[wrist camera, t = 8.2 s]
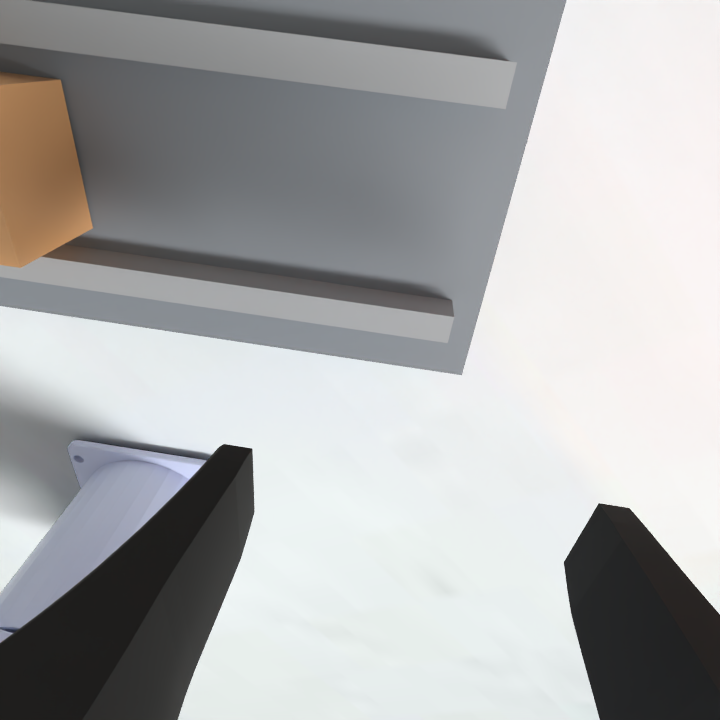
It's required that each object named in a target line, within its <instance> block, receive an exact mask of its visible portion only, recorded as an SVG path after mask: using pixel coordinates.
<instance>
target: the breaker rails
mask: <svg viewBox="0 0 720 720" xmlns="http://www.w3.org/2000/svg"><path fill="white" fill-rule="evenodd" d="M565 3H566V0H0V72H7V73H15V74H22V75H30V76H37V77H45V78H52V79H60V80H61V83H62V88H63V92H64V97H65V102H66V106H67V111H68V116H69V120H70V125H71V129H72V134H73V139H74V143H75V148H76V152H77V157H78V162H79V166H80V171H81V175H82V180H83V185H84V189H85V194H86V198H87V203H88V208H89V212H90V217H91V221H92V226H93V228H92V229H91V230H89V231H87V232H85V233H83V234H82V235H80V236H78V237H76V238H74V239H72V240H71V241H69V242H67V243H65V244H63V245H62V246H60V247H58V248H56V249H54V250H52V251H51V252H49V253H47V254H45V255H43V256H41V257H40V258H38V259H36V260H34V261H32V262H31V263H29V264H27V265H25V266H23V267H21V268H18V267H11V266H4V265H0V306H5V307H12V308H18V309H25V310H32V311H38V312H45V313H52V314H58V315H65V316H72V317H78V318H85V319H92V320H98V321H105V322H112V323H118V324H125V325H132V326H138V327H145V328H152V329H158V330H165V331H172V332H178V333H185V334H192V335H198V336H205V337H212V338H218V339H225V340H232V341H238V342H245V343H252V344H258V345H265V346H272V347H278V348H285V349H292V350H298V351H305V352H312V353H318V354H325V355H332V356H338V357H345V358H352V359H358V360H365V361H372V362H378V363H385V364H392V365H398V366H405V367H412V368H418V369H425V370H432V371H438V372H445V373H452V374H458V375H462V372H463V368H464V365H465V361H466V358H467V354H468V350H469V347H470V343H471V340H472V336H473V333H474V329H475V325H476V322H477V318H478V315H479V311H480V307H481V304H482V300H483V297H484V293H485V290H486V286H487V282H488V279H489V275H490V272H491V268H492V264H493V261H494V257H495V254H496V250H497V247H498V243H499V239H500V236H501V232H502V229H503V225H504V222H505V218H506V214H507V211H508V207H509V204H510V200H511V196H512V193H513V189H514V186H515V182H516V179H517V175H518V171H519V168H520V164H521V161H522V157H523V154H524V150H525V146H526V143H527V139H528V136H529V132H530V128H531V125H532V121H533V118H534V114H535V111H536V107H537V103H538V100H539V96H540V93H541V89H542V85H543V82H544V78H545V75H546V71H547V68H548V64H549V60H550V57H551V53H552V50H553V46H554V43H555V39H556V35H557V32H558V28H559V25H560V21H561V17H562V14H563V10H564V7H565Z"/></svg>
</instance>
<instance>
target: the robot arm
mask: <svg viewBox="0 0 720 720" xmlns="http://www.w3.org/2000/svg"><path fill="white" fill-rule="evenodd" d="M67 450H68V453H69V456H70V459H71V462H72V465H73V468H74V471H75V474H76V477H77V480H78V483H79V485H80V488H81V490H80V491H79V492H78V494H77V495H76V496H75V497H74V499H73V500H72V501H71V503H70V504H69V505H68V506H67V508H66V509H65V510H64V512H63V513H62V514H61V516H60V517H59V518H58V519H57V521H56V522H55V523H54V525H53V526H52V527H51V528H50V530H49V531H48V532H47V534H46V535H45V536H44V537H43V539H42V540H41V541H40V543H39V544H38V545H37V547H36V548H35V549H34V550H33V552H32V553H31V554H30V556H29V557H28V558H27V559H26V561H25V562H24V563H23V565H22V566H21V567H20V569H19V570H18V571H17V572H16V574H15V575H14V576H13V578H12V579H11V580H10V581H9V583H8V584H7V585H6V587H5V588H4V589H3V590H2V592H1V593H0V720H178V717H179V713H180V710H181V707H182V704H183V701H184V698H185V695H186V692H187V689H188V687H189V684H190V681H191V679H192V676H193V673H194V671H195V668H196V666H197V663H198V661H199V658H200V656H201V654H202V651H203V649H204V646H205V644H206V642H207V639H208V637H209V634H210V632H211V630H212V627H213V625H214V622H215V620H216V618H217V615H218V613H219V610H220V608H221V605H222V603H223V601H224V598H225V596H226V593H227V591H228V589H229V586H230V584H231V581H232V579H233V576H234V574H235V571H236V569H237V566H238V564H239V562H240V559H241V556H242V553H243V549H244V546H245V543H246V539H247V536H248V532H249V529H250V525H251V522H252V518H253V515H254V485H253V455H252V449H251V448H245V447H238V446H232V445H226V444H223V445H222V446H220V447H219V448H218V449H217V450H216V451H215V452H214V453H213V455H212V456H211V457H210V458H209V459H208V460H201V459H195V458H188V457H182V456H176V455H170V454H163V453H157V452H151V451H144V450H138V449H132V448H126V447H119V446H113V445H107V444H100V443H94V442H88V441H82V440H74V441H72V442H71V443H70V444H69V445H68V447H67ZM564 566H565V574H566V582H567V589H568V596H569V602H570V608H571V614H572V618H573V622H574V626H575V630H576V633H577V637H578V641H579V645H580V648H581V652H582V656H583V660H584V663H585V667H586V670H587V674H588V678H589V681H590V685H591V689H592V692H593V696H594V700H595V703H596V707H597V710H598V714H599V718H600V720H720V614H719V613H718V612H717V611H716V610H715V609H714V608H713V606H712V605H711V604H710V603H709V602H708V601H707V599H706V598H705V597H704V596H703V595H702V594H701V592H700V591H699V590H698V589H697V588H696V587H695V585H694V584H693V583H692V582H691V581H690V580H689V578H688V577H687V576H686V575H685V574H684V572H683V571H682V570H681V569H680V568H679V566H678V565H677V564H676V563H675V562H674V560H673V559H672V558H671V557H670V556H669V554H668V553H667V552H666V551H665V550H664V548H663V547H662V546H661V545H660V544H659V542H658V541H657V540H656V539H655V538H654V536H653V535H652V534H651V533H650V532H649V531H648V529H647V528H646V527H645V526H644V525H643V523H642V522H641V521H640V520H639V519H638V518H637V516H636V515H635V514H634V513H633V512H632V511H631V510H630V509H629V508H625V507H619V506H612V505H606V504H600V503H599V504H598V506H597V508H596V509H595V511H594V513H593V514H592V516H591V518H590V519H589V521H588V523H587V524H586V526H585V528H584V529H583V531H582V533H581V534H580V536H579V538H578V539H577V541H576V543H575V545H574V546H573V548H572V550H571V551H570V553H569V555H568V556H567V558H566V560H565V561H564Z"/></svg>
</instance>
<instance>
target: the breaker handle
mask: <svg viewBox="0 0 720 720" xmlns="http://www.w3.org/2000/svg"><path fill="white" fill-rule="evenodd" d="M92 228H93V226H92V221H91V217H90V212H89V208H88V203H87V198H86V194H85V189H84V185H83V180H82V175H81V171H80V166H79V162H78V157H77V152H76V148H75V143H74V139H73V134H72V129H71V125H70V120H69V116H68V111H67V106H66V102H65V97H64V92H63V88H62V83H61V80H60V79H52V78H45V77H37V76H30V75H22V74H15V73H7V72H0V265H4V266H11V267H18V268H21V267H23V266H25V265H27V264H29V263H31V262H32V261H34V260H36V259H38V258H40V257H41V256H43V255H45V254H47V253H49V252H51V251H52V250H54V249H56V248H58V247H60V246H62V245H63V244H65V243H67V242H69V241H71V240H72V239H74V238H76V237H78V236H80V235H82V234H83V233H85V232H87V231H89V230H91V229H92Z"/></svg>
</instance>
